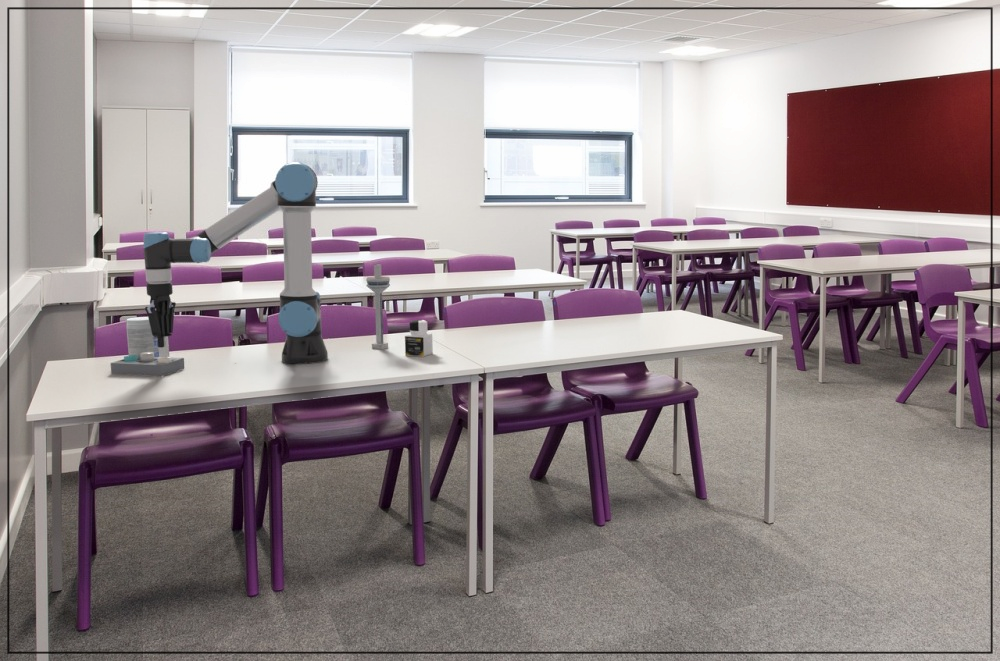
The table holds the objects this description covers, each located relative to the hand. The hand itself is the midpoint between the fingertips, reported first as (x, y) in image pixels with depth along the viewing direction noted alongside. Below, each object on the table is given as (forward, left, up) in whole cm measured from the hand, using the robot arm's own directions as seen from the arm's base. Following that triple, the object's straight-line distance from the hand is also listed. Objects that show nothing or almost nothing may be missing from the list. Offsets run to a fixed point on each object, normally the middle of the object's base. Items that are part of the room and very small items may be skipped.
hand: (164, 356), depth 280 cm
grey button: (+6, 0, -2) cm, 6 cm away
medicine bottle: (-70, -43, -5) cm, 82 cm away
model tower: (-52, -53, -5) cm, 74 cm away
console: (+6, 0, -5) cm, 8 cm away
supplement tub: (+17, -14, -5) cm, 23 cm away
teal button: (+12, 0, -3) cm, 12 cm away
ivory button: (0, 0, -3) cm, 3 cm away
